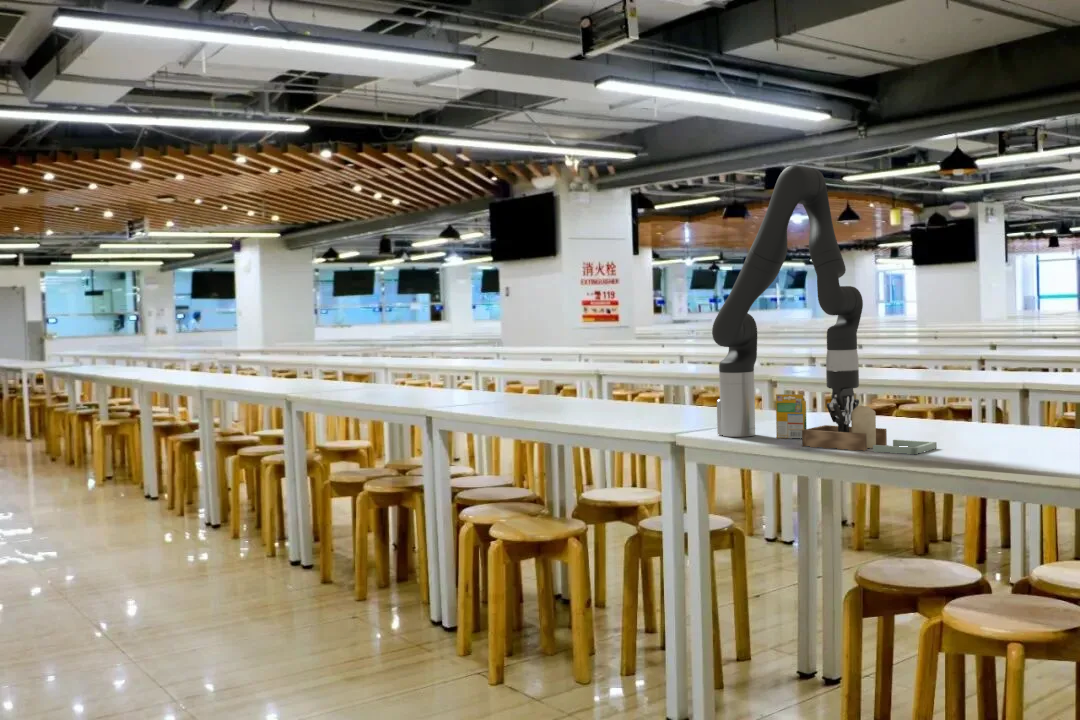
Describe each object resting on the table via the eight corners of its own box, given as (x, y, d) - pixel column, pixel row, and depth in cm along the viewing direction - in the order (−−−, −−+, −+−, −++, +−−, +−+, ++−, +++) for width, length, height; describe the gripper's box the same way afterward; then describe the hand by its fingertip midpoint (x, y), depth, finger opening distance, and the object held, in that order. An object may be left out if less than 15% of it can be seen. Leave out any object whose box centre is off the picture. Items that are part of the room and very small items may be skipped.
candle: (880, 447, 230) (880, 406, 229) (861, 449, 228) (860, 407, 227) (866, 445, 235) (865, 404, 234) (847, 446, 233) (846, 405, 233)
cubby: (802, 446, 236) (801, 430, 236) (825, 440, 245) (825, 425, 244) (864, 451, 225) (864, 434, 225) (886, 445, 234) (886, 428, 233)
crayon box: (807, 437, 252) (806, 393, 251) (804, 439, 249) (803, 394, 249) (779, 437, 255) (778, 393, 255) (776, 438, 253) (775, 394, 252)
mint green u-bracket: (873, 451, 224) (872, 445, 223) (894, 445, 232) (894, 439, 232) (915, 454, 217) (915, 448, 217) (936, 448, 225) (936, 442, 225)
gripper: (840, 366, 241) (841, 435, 242) (815, 369, 232) (816, 441, 232) (869, 367, 236) (870, 437, 237) (844, 370, 227) (845, 443, 227)
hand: (843, 439), depth 235 cm, fingers closed
